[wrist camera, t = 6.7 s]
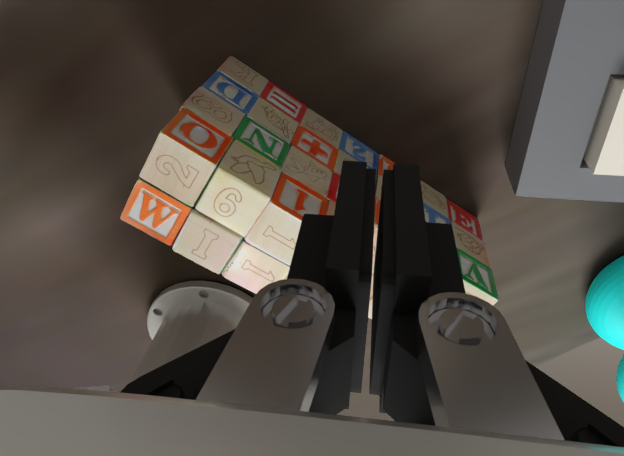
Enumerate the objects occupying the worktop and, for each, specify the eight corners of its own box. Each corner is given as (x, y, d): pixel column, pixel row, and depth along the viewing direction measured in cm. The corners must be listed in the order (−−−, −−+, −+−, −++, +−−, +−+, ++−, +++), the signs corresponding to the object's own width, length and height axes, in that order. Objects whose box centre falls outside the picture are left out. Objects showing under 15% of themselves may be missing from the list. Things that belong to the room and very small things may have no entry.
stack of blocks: (481, 216, 38) (510, 340, 28) (426, 267, 41) (436, 394, 31) (228, 52, 33) (156, 131, 23) (191, 125, 37) (114, 220, 27)
